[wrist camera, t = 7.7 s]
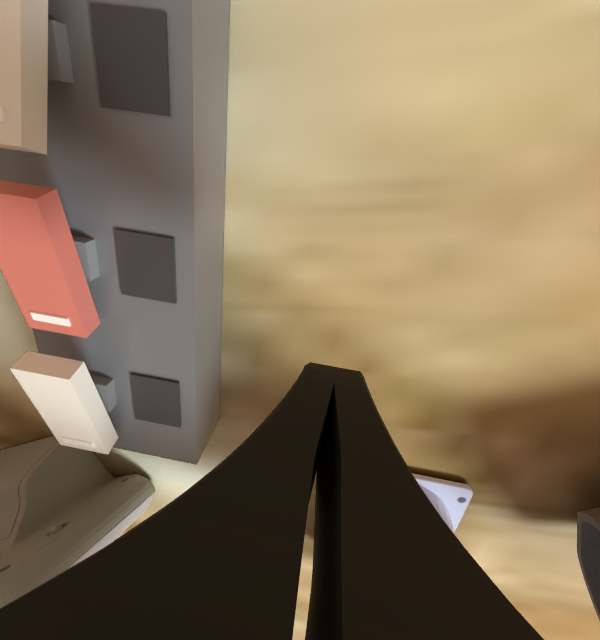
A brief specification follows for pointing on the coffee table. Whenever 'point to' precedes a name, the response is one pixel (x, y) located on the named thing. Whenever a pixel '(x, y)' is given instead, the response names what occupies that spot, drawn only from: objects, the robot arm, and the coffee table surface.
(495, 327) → the coffee table surface
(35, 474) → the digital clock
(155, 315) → the power strip
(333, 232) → the coffee table surface
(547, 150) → the coffee table surface
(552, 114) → the coffee table surface
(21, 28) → the rocker
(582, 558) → the bluetooth speaker
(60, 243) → the plate
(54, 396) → the block
